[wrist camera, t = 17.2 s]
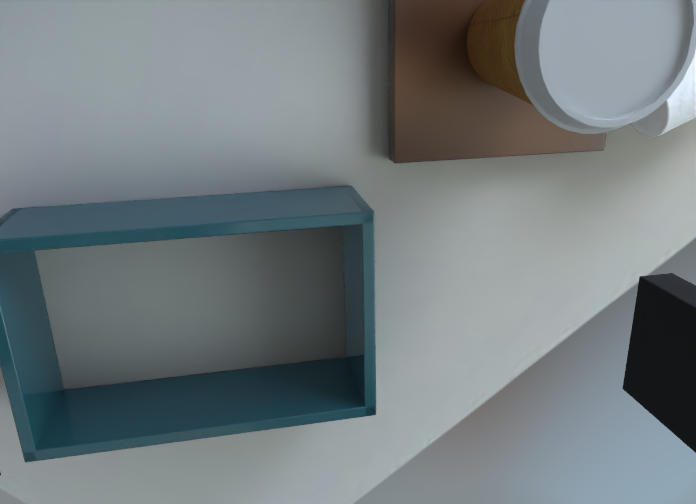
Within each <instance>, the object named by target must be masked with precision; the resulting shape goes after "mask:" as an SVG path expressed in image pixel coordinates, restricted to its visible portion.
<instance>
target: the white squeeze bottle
mask: <svg viewBox="0 0 696 504" xmlns="http://www.w3.org/2000/svg"><path fill="white" fill-rule="evenodd" d="M694 118H696V50H695V55H694V58H693V60H692V62H691V64H690V66H689V68H688V70H687V72H686V74H685V76H684V78H683V80H682V82H681V83H680V84H679V85H678V87H677V88H676V89H675V91H674V92H673V93H672V95H671V96H670V97H669V98H668V99H667V100H666V101H665V102H664V103H663V104H662V105H661V106H659V107H658V108H657V109H656V110H655V111H653V112H652V113H650V114H649V115H647V116H646V117H644V118H642V119H640V120H638V121H635V122H633V123H630V124H631V125H632V126H633V127H634V128H635V129H636V130H637V131H639V132H640V133H642V134H643V135H646V136H649V137H657V136H660V135H662V134H664V133H665V132H667V131H669V130H671V129H673V128H675V127H677V126H679V125H681V124H684V123H686V122H688V121H690V120H692V119H694Z"/></svg>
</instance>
